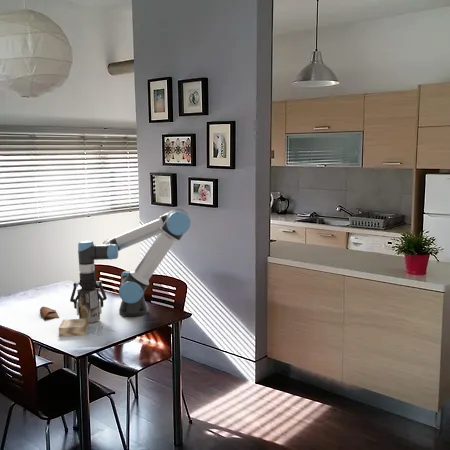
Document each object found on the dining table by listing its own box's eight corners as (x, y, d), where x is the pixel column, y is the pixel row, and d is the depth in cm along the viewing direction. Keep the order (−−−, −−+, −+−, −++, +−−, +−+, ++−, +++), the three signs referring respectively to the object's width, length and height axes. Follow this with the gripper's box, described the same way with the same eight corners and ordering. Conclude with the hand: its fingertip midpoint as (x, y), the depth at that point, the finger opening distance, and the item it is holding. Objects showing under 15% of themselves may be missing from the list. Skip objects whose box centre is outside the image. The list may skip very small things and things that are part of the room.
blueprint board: (103, 327, 250) (103, 324, 250) (100, 336, 236) (100, 334, 236) (61, 328, 247) (61, 326, 247) (56, 339, 233) (56, 336, 233)
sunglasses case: (61, 319, 261) (54, 309, 258) (49, 328, 258) (42, 318, 256) (55, 310, 276) (48, 301, 274) (44, 318, 274) (37, 308, 272)
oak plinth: (88, 326, 248) (88, 318, 247) (85, 334, 236) (85, 326, 235) (63, 327, 246) (63, 319, 245) (59, 336, 234) (58, 327, 234)
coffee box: (100, 319, 257) (99, 288, 254) (91, 323, 251) (89, 291, 249) (88, 316, 261) (86, 286, 259) (78, 320, 256) (76, 289, 254)
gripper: (111, 268, 258) (112, 310, 261) (64, 271, 255) (67, 313, 258) (109, 272, 251) (111, 314, 254) (62, 274, 247) (64, 317, 251)
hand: (89, 314), depth 256 cm, fingers closed on coffee box, 10 cm apart
